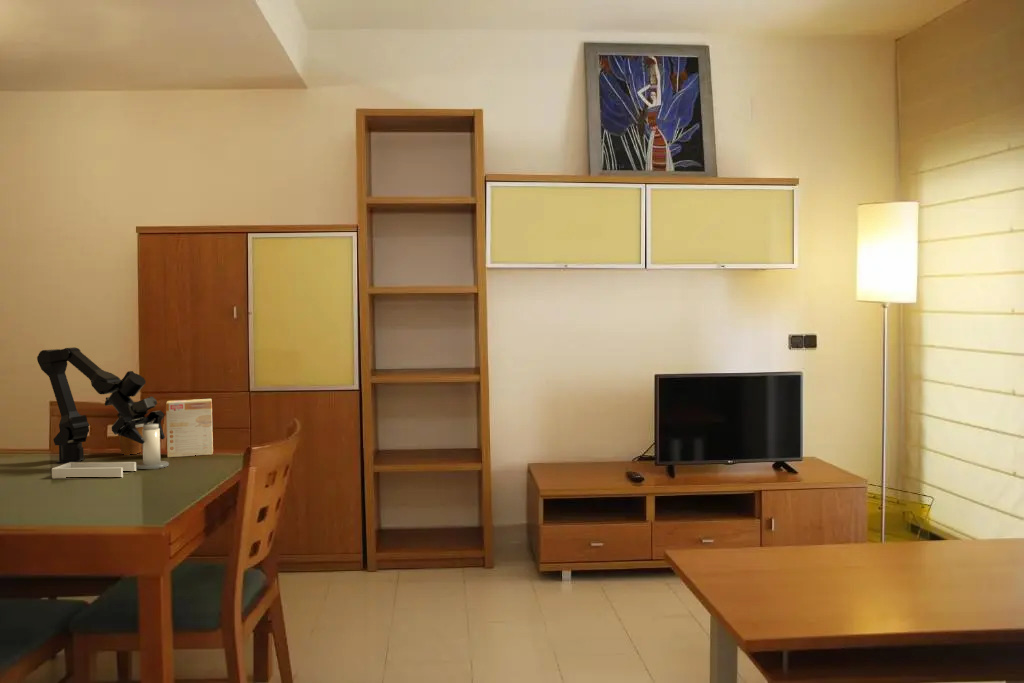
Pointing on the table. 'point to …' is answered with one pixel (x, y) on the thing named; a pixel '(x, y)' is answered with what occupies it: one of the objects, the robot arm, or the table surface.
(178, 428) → the coffeecake box
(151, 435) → the salt mill
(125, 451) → the disposable coffee cup
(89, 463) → the channel
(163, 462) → the coaster
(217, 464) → the table surface
